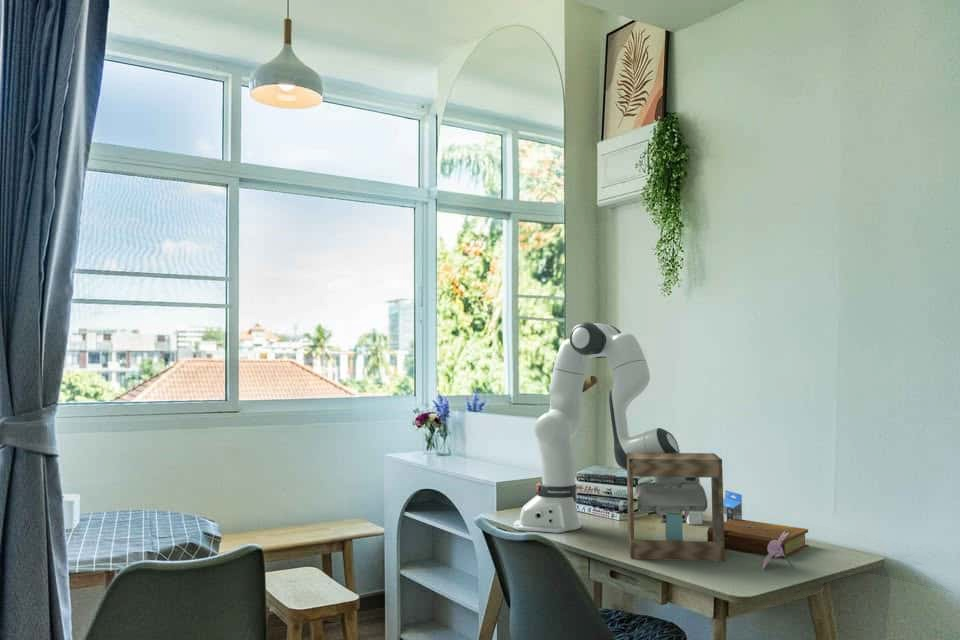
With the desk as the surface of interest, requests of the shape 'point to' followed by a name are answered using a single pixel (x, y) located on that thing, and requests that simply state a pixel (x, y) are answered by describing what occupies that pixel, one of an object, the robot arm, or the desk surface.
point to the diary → (760, 537)
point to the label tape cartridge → (732, 506)
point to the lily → (775, 549)
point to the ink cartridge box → (694, 517)
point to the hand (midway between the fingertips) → (674, 521)
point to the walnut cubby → (678, 468)
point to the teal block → (674, 527)
